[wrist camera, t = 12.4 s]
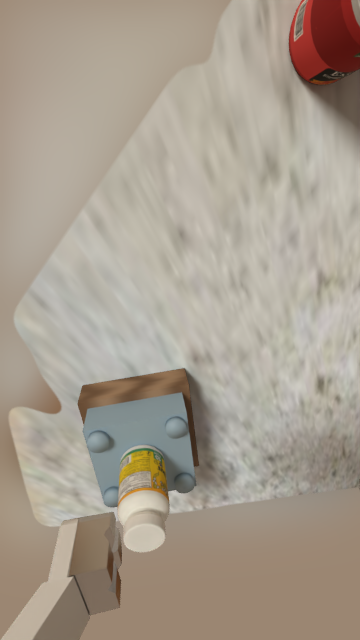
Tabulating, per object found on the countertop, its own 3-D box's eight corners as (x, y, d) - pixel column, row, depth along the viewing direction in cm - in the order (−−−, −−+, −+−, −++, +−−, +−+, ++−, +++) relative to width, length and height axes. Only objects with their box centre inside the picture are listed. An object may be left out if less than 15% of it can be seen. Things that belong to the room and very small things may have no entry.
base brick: (184, 368, 44) (188, 384, 41) (194, 445, 50) (198, 465, 46) (82, 385, 43) (77, 403, 40) (103, 462, 49) (101, 484, 45)
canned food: (306, 103, 34) (378, 67, 24) (271, 22, 31) (337, -58, 21) (369, 55, 33) (472, -3, 23) (340, -33, 30) (444, -145, 20)
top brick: (181, 392, 41) (187, 417, 36) (191, 461, 46) (197, 492, 41) (87, 408, 40) (81, 437, 35) (107, 478, 45) (103, 511, 40)
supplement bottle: (116, 447, 38) (111, 525, 29) (161, 439, 38) (169, 513, 29) (124, 480, 40) (121, 562, 31) (166, 472, 40) (175, 551, 32)
